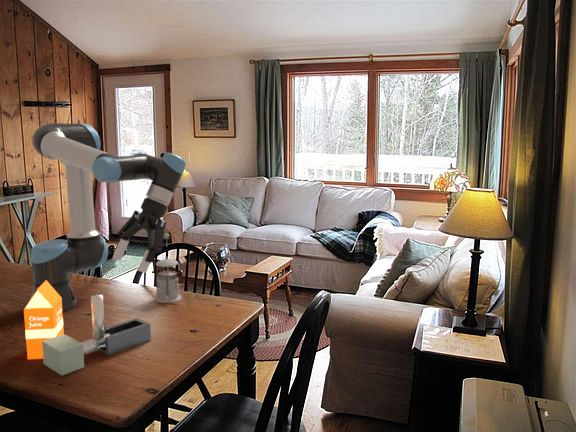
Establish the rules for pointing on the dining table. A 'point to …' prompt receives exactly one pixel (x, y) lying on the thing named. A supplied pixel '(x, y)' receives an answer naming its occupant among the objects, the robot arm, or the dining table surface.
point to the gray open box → (126, 336)
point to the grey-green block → (63, 354)
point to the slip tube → (96, 326)
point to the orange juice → (42, 319)
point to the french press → (167, 281)
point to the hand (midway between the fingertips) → (128, 265)
